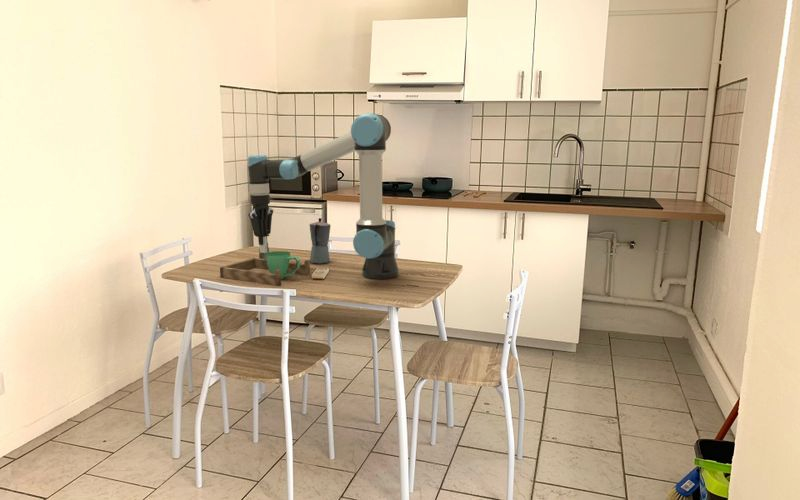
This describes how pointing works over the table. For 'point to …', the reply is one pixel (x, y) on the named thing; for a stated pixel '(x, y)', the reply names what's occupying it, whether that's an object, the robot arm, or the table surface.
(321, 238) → the moka pot
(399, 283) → the table surface
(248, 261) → the bay
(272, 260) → the mug
